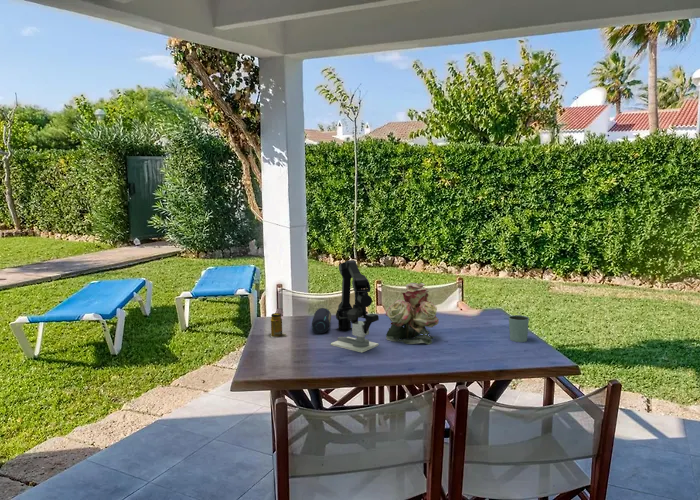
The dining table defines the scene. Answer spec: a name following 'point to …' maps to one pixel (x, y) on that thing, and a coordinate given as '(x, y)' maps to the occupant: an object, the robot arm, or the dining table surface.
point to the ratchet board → (349, 346)
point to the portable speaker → (321, 320)
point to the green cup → (518, 328)
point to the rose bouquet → (412, 316)
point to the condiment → (276, 326)
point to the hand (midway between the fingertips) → (360, 332)
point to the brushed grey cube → (359, 329)
